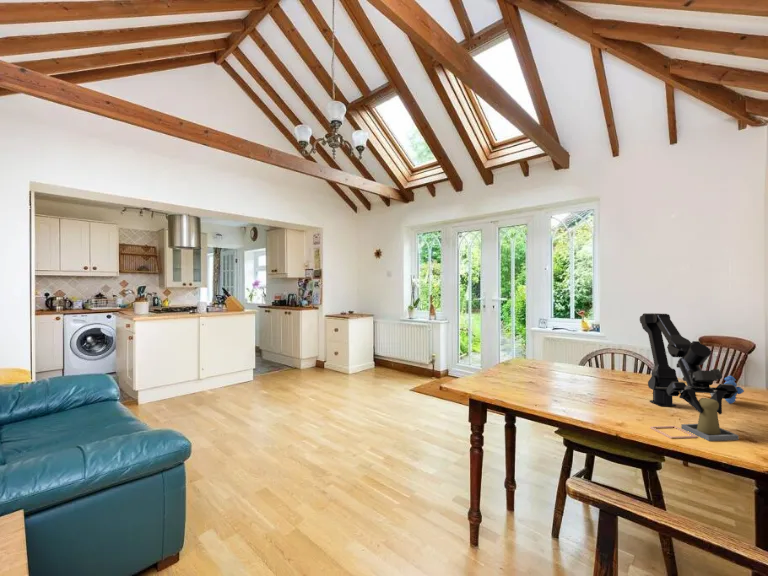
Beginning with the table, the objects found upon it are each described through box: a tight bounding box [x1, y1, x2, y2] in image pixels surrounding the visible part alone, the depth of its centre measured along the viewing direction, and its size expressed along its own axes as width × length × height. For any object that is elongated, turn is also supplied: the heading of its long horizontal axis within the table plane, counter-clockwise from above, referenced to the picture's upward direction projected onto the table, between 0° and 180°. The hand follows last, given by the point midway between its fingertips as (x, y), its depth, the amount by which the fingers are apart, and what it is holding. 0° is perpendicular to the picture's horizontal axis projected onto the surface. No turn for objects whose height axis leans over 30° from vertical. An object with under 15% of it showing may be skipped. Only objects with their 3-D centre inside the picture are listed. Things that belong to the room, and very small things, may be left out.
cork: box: [697, 397, 721, 435], centre depth 123 cm, size 6×6×11 cm
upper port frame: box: [649, 425, 698, 439], centre depth 124 cm, size 9×9×1 cm
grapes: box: [723, 375, 745, 404], centre depth 152 cm, size 12×7×12 cm, turn 142°
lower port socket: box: [680, 423, 740, 442], centre depth 123 cm, size 10×10×2 cm
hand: (711, 413), depth 122 cm, fingers closed on cork, 5 cm apart
